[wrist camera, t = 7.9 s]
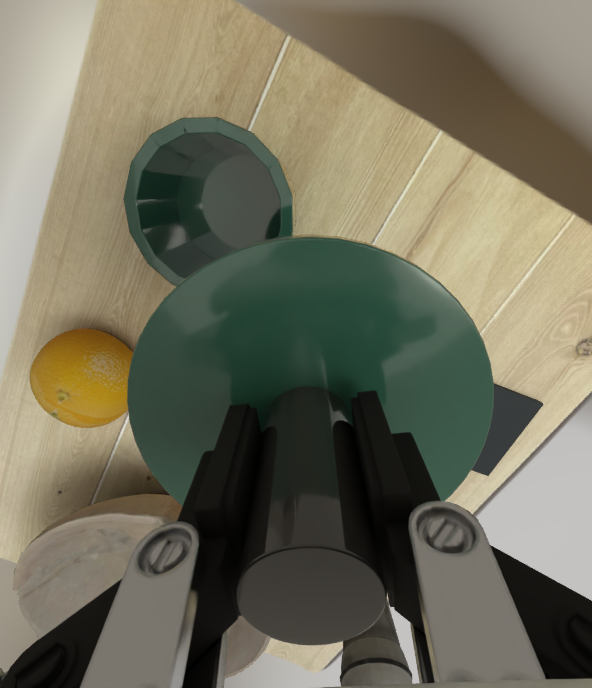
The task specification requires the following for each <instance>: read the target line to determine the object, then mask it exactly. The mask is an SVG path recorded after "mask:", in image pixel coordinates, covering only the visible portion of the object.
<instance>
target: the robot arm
mask: <svg viewBox="0 0 592 688" xmlns="http://www.w3.org/2000/svg"><path fill="white" fill-rule="evenodd" d="M351 406H352V418H353V429H354V434H355V439H356V444H357V449H358V454H359V459H360V464H361V469H362V474H363V479H364V484H365V489H366V494H367V499H368V504H369V509H370V514H371V519H372V524H373V529H374V534H375V539H376V542H377V545H378V550H379V555H380V560H381V565H382V570H383V575H384V580H385V585H386V591H387V593H388V598H389V603H390V607H394V609H395V610H396V611H397V612H398V613H400V614H401V615H402V616H403V617H404V618H406V619H407V620H408V621H409V622H411V632H412V637H413V643H414V650H415V656H416V662H417V669H418V674H419V681H420V684H395V685H369V686H346V687H325V688H592V601H591V600H589V599H587V598H586V597H584V596H582V595H580V594H578V593H577V592H575V591H573V590H571V589H569V588H567V587H566V586H564V585H562V584H560V583H558V582H556V581H555V580H553V579H551V578H549V577H547V576H546V575H544V574H542V573H540V572H538V571H536V570H535V569H533V568H531V567H529V566H527V565H525V564H524V563H522V562H520V561H518V560H516V559H514V558H513V557H511V556H509V555H507V554H505V553H503V552H502V551H500V550H498V549H496V548H494V547H493V546H491V545H490V544H489V542H488V539H487V537H486V535H485V532H484V530H483V528H482V526H481V524H480V523H479V521H478V520H477V518H476V517H474V516H473V515H472V514H471V513H470V512H469V511H468V510H466V509H464V508H462V507H461V506H459V505H456V504H453V503H450V502H445V501H441V500H440V497H439V495H438V493H437V490H436V488H435V486H434V483H433V481H432V479H431V477H430V474H429V472H428V470H427V467H426V465H425V463H424V460H423V458H422V456H421V453H420V451H419V449H418V447H417V444H416V442H415V440H414V437H413V435H412V434H411V433H410V432H404V433H393V434H391V431H390V428H389V425H388V422H387V419H386V417H385V414H384V411H383V408H382V405H381V402H380V399H379V397H378V394H377V391H376V390H374V391H364V392H358V393H357V397H353V398H351ZM261 437H262V433H261V428H260V423H259V418H258V413H257V409H256V408H255V407H254V408H250V405H249V404H248V403H247V404H237V405H230V406H229V409H228V411H227V414H226V417H225V420H224V423H223V426H222V429H221V432H220V434H219V437H218V440H217V443H216V446H215V449H214V450H211V451H205V452H204V453H203V455H202V457H201V460H200V463H199V465H198V468H197V470H196V473H195V475H194V478H193V481H192V483H191V486H190V488H189V491H188V494H187V496H186V499H185V501H184V504H183V507H182V509H181V512H180V514H179V517H178V519H177V522H170V523H167V524H163V525H161V526H159V527H157V528H155V529H153V530H152V531H151V532H150V533H148V534H147V535H146V536H144V538H143V539H142V540H141V541H140V542H139V543H138V544H137V546H136V548H135V549H134V551H133V553H132V555H131V558H130V560H129V563H128V566H127V568H126V571H125V573H124V576H123V578H122V579H121V580H119V581H118V582H116V583H115V584H114V585H112V586H111V587H110V588H108V589H107V590H106V591H104V592H103V593H101V594H100V595H99V596H97V597H96V598H95V599H93V600H92V601H91V602H89V603H88V604H86V605H85V606H84V607H82V608H81V609H80V610H78V611H77V612H76V613H74V614H73V615H71V616H70V617H69V618H67V619H66V620H65V621H63V622H62V623H61V624H59V625H58V626H56V627H55V628H54V629H52V630H51V631H50V632H48V633H47V634H46V635H44V636H43V637H41V638H40V639H39V640H37V641H36V642H35V643H34V644H33V645H31V646H30V647H29V648H28V649H27V650H26V651H24V652H23V653H22V654H21V656H20V657H19V658H18V659H17V660H16V661H15V663H14V664H13V665H12V666H11V667H10V669H9V671H8V672H6V673H4V672H3V671H2V669H1V668H0V688H224V679H225V669H226V659H227V649H228V639H229V633H228V629H229V628H230V627H231V626H232V625H233V624H234V623H235V622H236V621H237V620H238V616H242V615H241V613H240V611H239V610H238V607H237V605H236V600H235V584H236V579H237V573H238V567H239V562H240V556H241V550H242V545H243V539H244V533H245V528H246V522H247V516H248V511H249V505H250V499H251V494H252V488H253V482H254V477H255V471H256V465H257V460H258V454H259V448H260V443H261Z"/></svg>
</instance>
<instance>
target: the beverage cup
mask: <svg viewBox="0 0 592 688" xmlns="http://www.w3.org/2000/svg"><path fill="white" fill-rule="evenodd" d="M340 682H341V686H342V687H346V686H369V685H395V684H412V673H411V671H410V670H409V667H408V664H407V661H406V658H405V656H404V653H403V651H402V649H401V647H400V644H399V640H398V636H397V633H396V629H395V626H394V622H393V619H392V615H391V612H390V608H389V605H388V601H387V599H386V604H385V608H384V610H383V612H382V614H381V616H380V617H379V619H378V620H377V621H376V622H375V623H374V624H373V625H372V626H371V627H370V628H368V629H367V630H366V631H364V632H362V633H361V634H359V635H357V636H355V637H353V638H350V639H348V640H345V641H343V654H342V664H341V676H340Z"/></svg>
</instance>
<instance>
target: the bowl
mask: <svg viewBox="0 0 592 688" xmlns="http://www.w3.org/2000/svg"><path fill="white" fill-rule="evenodd" d="M182 507H183V506H181V505H180V504H179V503H178V502H177V501H176V500H175V499H174V498H173V497H172V496H171V495H162V494H139V495H132V496H124V497H119V498H114V499H109V500H105V501H102V502H98V503H95V504H92V505H89V506H86V507H84V508H82V509H80V510H78V511H76V512H74V513H71V514H70V515H68V516H66V517H65V518H63V519H61V520H60V521H58V522H56V523H55V524H53V525H51V526H50V527H48V528H47V529H45V530H44V531H43V532H42V533H41V534H40V535H38V536H37V537H36V538H35V539H34V540H33V541H32V542H31V543H30V544H29V545H28V546H27V548H26V549H25V550H24V551H23V552H22V554H21V556H20V558H19V561H18V564H17V567H16V568H15V570H14V581H13V582H14V583H13V589H14V592H15V593H16V594H18V595H20V597H19V605H20V609H21V612H22V614H23V616H24V617H25V619H26V620H27V622H28V623H29V625H30V626H31V627H32V629H33V630H34V631H35V633H36V634H37V637H38V639H40V638H41V637H43V636H44V635H46V634H47V633H48V632H50V631H51V630H52V629H54V628H55V627H56V626H58V625H59V624H61V623H62V622H63V621H65V620H66V619H67V618H69V617H70V616H71V615H73V614H74V613H76V612H77V611H78V610H80V609H81V608H82V607H84V606H85V605H86V604H88V603H89V602H91V601H92V600H93V599H95V598H96V597H97V596H99V595H100V594H101V593H103V592H104V591H106V590H107V589H108V588H110V587H111V586H112V585H114V584H115V583H116V582H118V581H119V580H121V579H122V578H123V576H124V573H125V571H126V568H127V566H128V563H129V560H130V558H131V555H132V553H133V551H134V549H135V548H136V546H137V544H138V543H139V542H140V541H141V540H142V539H143V538H144V536H146V535H147V534H148V533H150V532H151V531H152V530H153V529H155V528H157V527H159V526H161V525H163V524H167V523H170V522H177V519H178V517H179V514H180V512H181V509H182ZM228 633H229V639H228V649H227V659H226V669H225V678H227V677H230V676H233V675H235V674H237V673H239V672H241V671H243V670H244V669H246V668H247V667H249V666H250V665H251V664H252V663H253V662H254V661H256V660H257V659H258V658H259V656H260V655H261V654H262V653H263V652H264V650H265V649H266V648H267V645H268V643H269V641H270V639H271V637H269V636H267V635H265V634H263V633H261V632H259V631H258V630H256V629H255V628H254V627H252V626H251V625H250V624H249V623H248V622H247V621H246V620H245V619H244V618H243V616H238V620H237V621H236V622H235V623H234V624H233V625H232V626H231V627H230V628H229V629H228Z"/></svg>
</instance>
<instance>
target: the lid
mask: <svg viewBox="0 0 592 688" xmlns="http://www.w3.org/2000/svg"><path fill="white" fill-rule="evenodd" d="M374 390H376V391H377V394H378V397H379V399H380V402H381V405H382V408H383V411H384V414H385V417H386V419H387V422H388V425H389V428H390V431H391V434H393V433H404V432H410V433H411V434H412V435H413V437H414V440H415V442H416V444H417V447H418V449H419V451H420V453H421V456H422V458H423V460H424V463H425V465H426V467H427V470H428V472H429V474H430V477H431V479H432V481H433V483H434V486H435V488H436V490H437V493H438V495H439V497H440V500H441V501H445V500H446V499H448V498H449V497H450V496H451V495H452V494H453V493H454V491H455V490H456V489H457V488H458V487H459V486H460V485H461V483H462V482H463V481H464V480H465V478H466V477H467V475H468V474H469V472H470V471H471V469H472V468H473V466H474V465H475V463H476V461H477V459H478V457H479V455H480V453H481V451H482V449H483V447H484V444H485V441H486V438H487V435H488V432H489V429H490V425H491V419H492V413H493V406H494V383H493V376H492V370H491V364H490V360H489V357H488V354H487V351H486V348H485V344H484V341H483V339H482V337H481V335H480V333H479V332H478V330H477V328H476V326H475V324H474V322H473V320H472V319H471V317H470V316H469V314H468V313H467V312H466V310H465V309H464V308H463V306H462V305H461V304H460V302H459V301H458V300H457V299H456V298H455V297H454V296H453V295H452V294H451V293H450V292H449V291H448V290H447V289H446V288H445V287H444V286H443V285H442V284H441V283H440V282H439V281H437V280H436V279H435V278H433V277H432V276H431V275H429V274H428V273H426V272H425V271H424V270H422V269H421V268H420V267H418V266H417V265H415V264H414V263H412V262H410V261H408V260H406V259H404V258H402V257H400V256H399V255H397V254H395V253H393V252H391V251H388V250H386V249H383V248H380V247H377V246H374V245H372V244H369V243H366V242H362V241H357V240H352V239H348V238H343V237H337V236H323V235H297V236H283V237H278V238H273V239H268V240H263V241H258V242H254V243H252V244H249V245H246V246H243V247H240V248H237V249H235V250H232V251H229V252H228V253H226V254H224V255H222V256H220V257H218V258H216V259H214V260H212V261H210V262H208V263H207V264H205V265H204V266H202V267H201V268H200V269H198V270H197V271H195V272H194V273H193V274H191V275H190V276H189V277H187V278H186V279H184V280H183V281H182V282H181V283H180V284H179V285H178V286H177V287H176V288H175V289H174V290H173V291H172V292H171V293H169V294H168V295H167V296H166V297H165V298H164V300H163V301H162V302H161V304H160V305H159V306H158V307H157V309H156V310H155V311H154V313H153V314H152V315H151V317H150V318H149V320H148V322H147V324H146V326H145V327H144V329H143V331H142V333H141V335H140V337H139V339H138V342H137V344H136V347H135V350H134V353H133V356H132V359H131V364H130V370H129V375H128V386H127V404H128V412H129V420H130V424H131V428H132V431H133V435H134V438H135V441H136V444H137V446H138V448H139V450H140V453H141V455H142V457H143V459H144V461H145V463H146V464H147V466H148V467H149V469H150V471H151V472H152V474H153V475H154V477H155V478H156V479H157V480H158V482H159V483H160V484H161V485H162V487H163V488H164V489H165V490H166V491H167V492H168V493H169V494H170V495H171V496H172V497H173V498H174V499H175V500H176V501H177V502H178V503H179V504H180V505H181V506H183V504H184V501H185V499H186V496H187V494H188V491H189V488H190V486H191V483H192V481H193V478H194V475H195V473H196V470H197V468H198V465H199V463H200V460H201V457H202V455H203V453H204V452H205V451H211V450H214V449H215V446H216V443H217V440H218V437H219V434H220V432H221V429H222V426H223V423H224V420H225V417H226V414H227V411H228V409H229V406H230V405H237V404H247V403H248V404H249V405H250V408H254V407H255V408H256V409H257V413H258V418H259V423H260V428H261V433H262V437H261V443H260V448H259V454H258V460H257V465H256V471H255V477H254V482H253V488H252V494H251V499H250V505H249V511H248V516H247V522H246V528H245V533H244V539H243V545H242V550H241V556H240V562H239V567H238V573H237V579H236V584H235V600H236V605H237V607H238V610H239V611H240V613H241V615H242V616H243V618H244V619H245V620H246V621H247V622H248V623H249V624H250V625H251V626H252V627H254V628H255V629H256V630H258V631H259V632H261V633H263V634H265V635H267V636H269V637H271V638H274V639H277V640H280V641H283V642H287V643H292V644H298V645H326V644H332V643H337V642H341V641H345V640H348V639H350V638H353V637H355V636H357V635H359V634H361V633H362V632H364V631H366V630H367V629H368V628H370V627H371V626H372V625H373V624H374V623H375V622H376V621H377V620H378V619H379V617H380V616H381V614H382V612H383V610H384V608H385V604H386V599H387V591H386V585H385V580H384V575H383V570H382V565H381V560H380V555H379V550H378V545H377V542H376V539H375V534H374V529H373V524H372V519H371V514H370V509H369V504H368V499H367V494H366V489H365V484H364V479H363V474H362V469H361V464H360V459H359V454H358V449H357V444H356V439H355V434H354V429H353V418H352V406H351V398H353V397H357V393H358V392H364V391H374Z"/></svg>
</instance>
